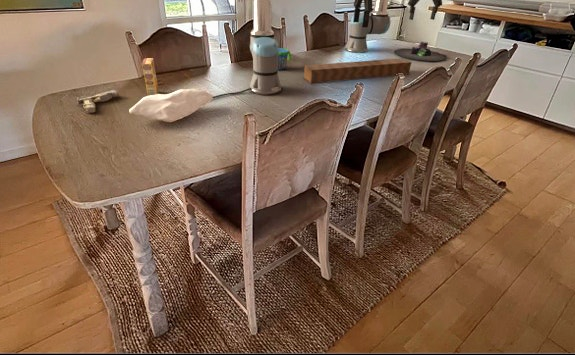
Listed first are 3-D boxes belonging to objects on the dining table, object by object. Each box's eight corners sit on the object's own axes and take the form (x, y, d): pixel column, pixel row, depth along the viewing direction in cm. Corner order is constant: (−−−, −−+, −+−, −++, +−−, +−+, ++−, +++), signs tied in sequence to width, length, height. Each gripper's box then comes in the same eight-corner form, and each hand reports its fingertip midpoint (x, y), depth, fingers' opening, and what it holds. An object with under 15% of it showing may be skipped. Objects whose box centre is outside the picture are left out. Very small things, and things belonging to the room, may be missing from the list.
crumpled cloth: (117, 110, 146) (113, 90, 140) (195, 92, 166) (194, 73, 160) (143, 139, 134) (140, 118, 128) (223, 116, 154) (224, 96, 148)
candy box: (157, 97, 164) (152, 63, 155) (147, 98, 163) (141, 63, 155) (158, 91, 171) (153, 57, 163) (149, 91, 170) (143, 58, 162)
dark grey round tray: (457, 57, 245) (460, 43, 240) (424, 63, 227) (427, 48, 223) (415, 49, 269) (417, 36, 265) (382, 54, 252) (384, 40, 247)
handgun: (128, 97, 156) (111, 87, 164) (86, 107, 144) (70, 97, 152) (129, 103, 157) (113, 94, 165) (88, 114, 146) (72, 103, 154)
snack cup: (285, 64, 217) (285, 46, 212) (295, 68, 210) (296, 50, 204) (262, 67, 210) (262, 49, 204) (272, 72, 202) (272, 53, 197)
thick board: (310, 83, 189) (311, 70, 186) (304, 78, 196) (304, 65, 193) (408, 74, 210) (411, 62, 206) (399, 69, 217) (401, 58, 213)
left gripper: (384, -22, 161) (376, 29, 172) (365, -26, 181) (359, 20, 193) (368, -22, 159) (361, 29, 171) (350, -26, 180) (345, 20, 192)
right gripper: (414, -24, 185) (405, 20, 196) (455, -23, 191) (445, 20, 202) (406, -25, 191) (398, 18, 202) (447, -24, 197) (436, 18, 209)
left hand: (360, 24), depth 182 cm, fingers open, 13 cm apart
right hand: (421, 19), depth 202 cm, fingers open, 13 cm apart
